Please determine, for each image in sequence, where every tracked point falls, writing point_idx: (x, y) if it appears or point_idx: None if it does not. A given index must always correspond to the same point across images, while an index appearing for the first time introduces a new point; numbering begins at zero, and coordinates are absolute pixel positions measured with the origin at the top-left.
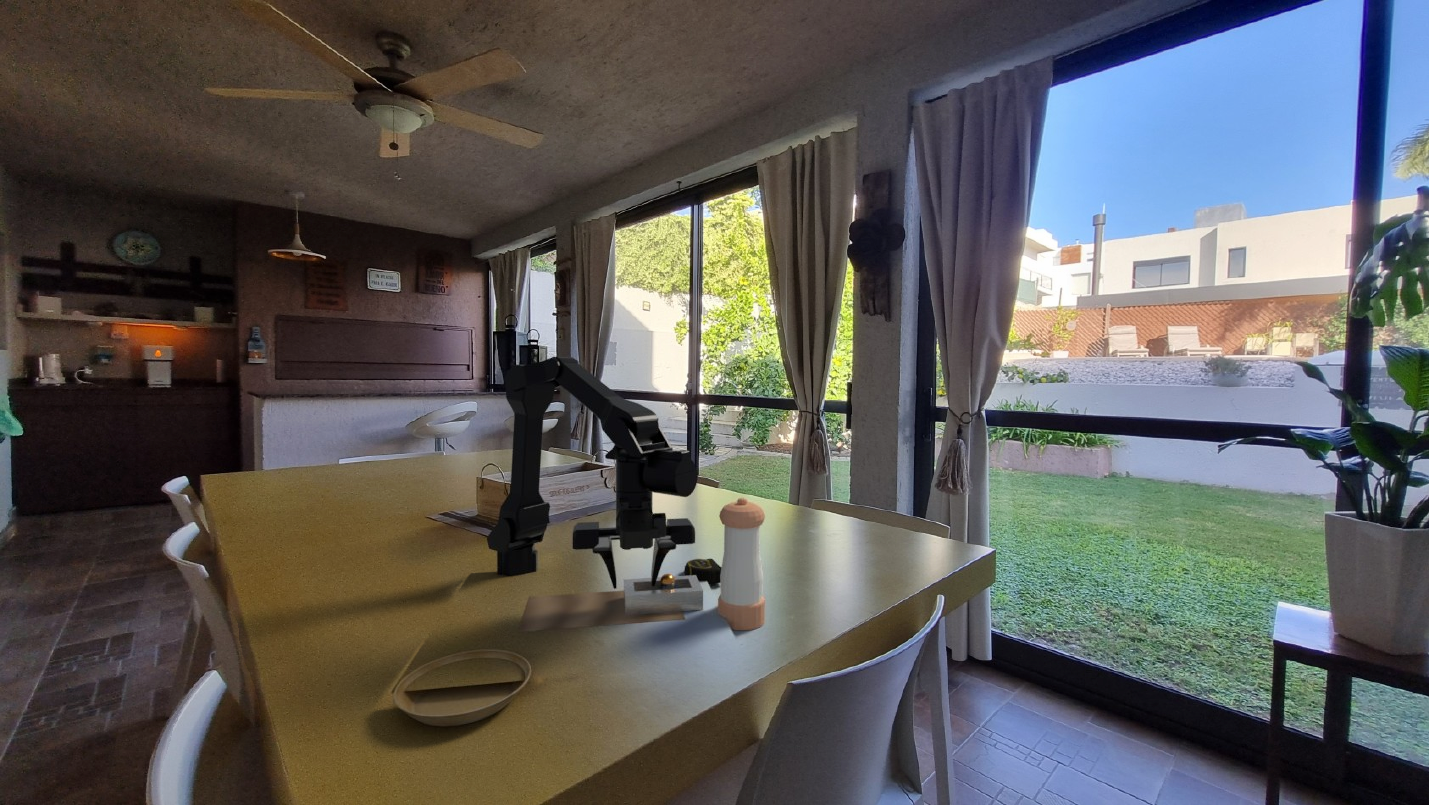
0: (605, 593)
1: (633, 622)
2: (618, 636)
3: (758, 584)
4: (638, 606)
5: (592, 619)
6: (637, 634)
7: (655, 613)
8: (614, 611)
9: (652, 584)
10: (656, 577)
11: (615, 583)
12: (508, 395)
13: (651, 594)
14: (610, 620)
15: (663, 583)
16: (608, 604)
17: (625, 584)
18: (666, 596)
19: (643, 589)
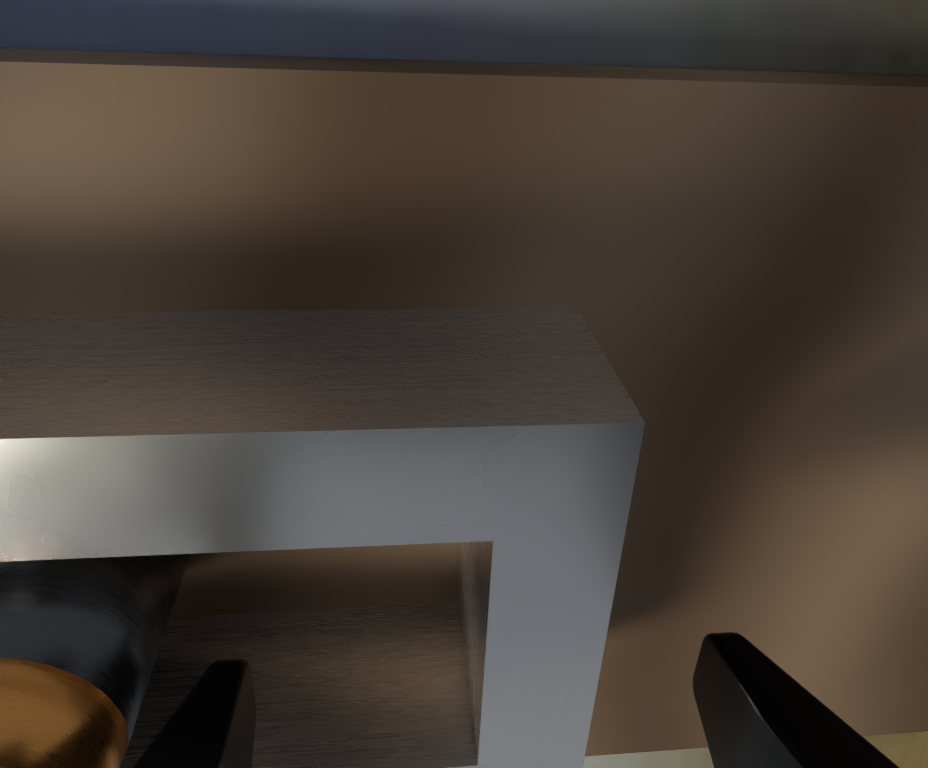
0: (666, 727)
1: (513, 87)
2: (660, 15)
3: None
4: (439, 349)
5: (918, 263)
6: (456, 21)
7: (236, 300)
8: (666, 409)
9: (235, 674)
10: (146, 766)
11: (753, 680)
12: None
13: (250, 430)
14: (754, 203)
15: (60, 676)
16: (687, 552)
17: (575, 723)
18: (20, 407)
19: (359, 693)
